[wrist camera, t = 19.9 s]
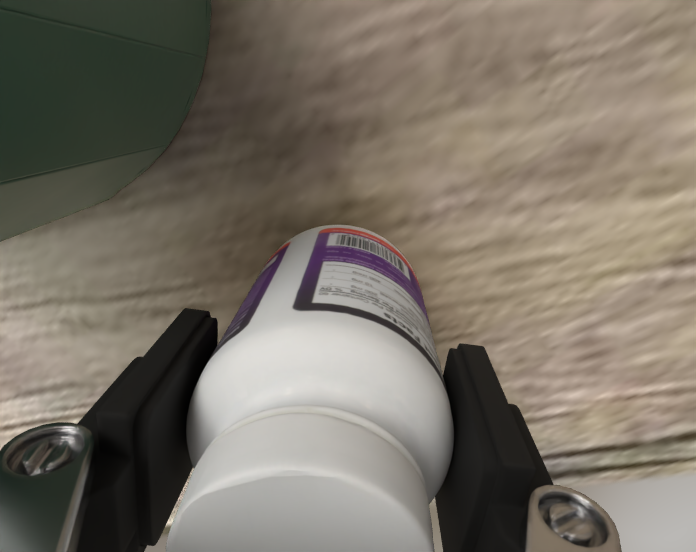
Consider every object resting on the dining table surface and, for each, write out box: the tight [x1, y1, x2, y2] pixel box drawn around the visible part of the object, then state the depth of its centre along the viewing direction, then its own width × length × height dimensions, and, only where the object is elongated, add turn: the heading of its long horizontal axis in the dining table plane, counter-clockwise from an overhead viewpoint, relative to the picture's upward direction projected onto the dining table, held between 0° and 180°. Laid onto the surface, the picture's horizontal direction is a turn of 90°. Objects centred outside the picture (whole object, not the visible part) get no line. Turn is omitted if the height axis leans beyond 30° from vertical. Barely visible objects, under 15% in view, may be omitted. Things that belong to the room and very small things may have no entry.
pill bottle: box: [166, 225, 454, 552], centre depth 11 cm, size 5×5×10 cm
